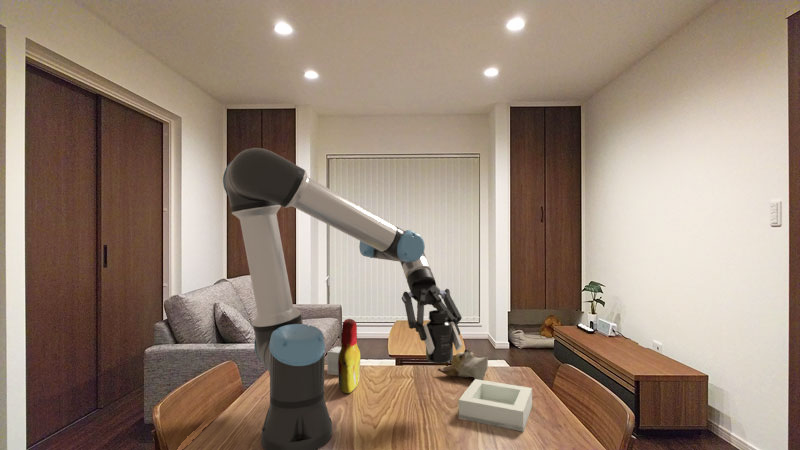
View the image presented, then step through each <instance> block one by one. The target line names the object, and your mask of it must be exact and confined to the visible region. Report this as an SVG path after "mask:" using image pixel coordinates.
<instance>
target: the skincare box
mask: <svg viewBox="0 0 800 450" xmlns="http://www.w3.org/2000/svg"><path fill="white" fill-rule="evenodd" d="M340 350H341V346H335V347H332V348H331V349H329V350H328V351H327V353H326V355H327V358H326V359H327V360H326V363H327V364H326V365H327V367H326V368H327V374H328V375H333V376H339V374H338V357H339V353H340Z"/></svg>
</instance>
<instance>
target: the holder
mask: <svg viewBox="0 0 800 450" xmlns="http://www.w3.org/2000/svg"><path fill="white" fill-rule="evenodd" d="M532 406H533V388H532V387H527V386H521V385H515V384H508V383H504V382H503V383H502V382H498V381H497V382H495V381H491V380H484V379H482V380H478V379H475V378H474V380H473V381H472V382H471V383H470V385H469V386H468V388H467V389H466V390H465V391H464V393H463V394H462V395H461V396H460V397H459V399H458V420H459V419H460V420H464V421H467V422H469V421H470V422H474V423H478V424H479V423H480V424H484V425H489V426H492V427H497V428H502V429H503V428H504V429H508V430H511V431H512V430H513V431H516V432H517V431H518V432H522V433H523V432H525V428H526V426H527V422H528V419H529V416H530V413H531V410H532V408H533V407H532Z"/></svg>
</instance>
